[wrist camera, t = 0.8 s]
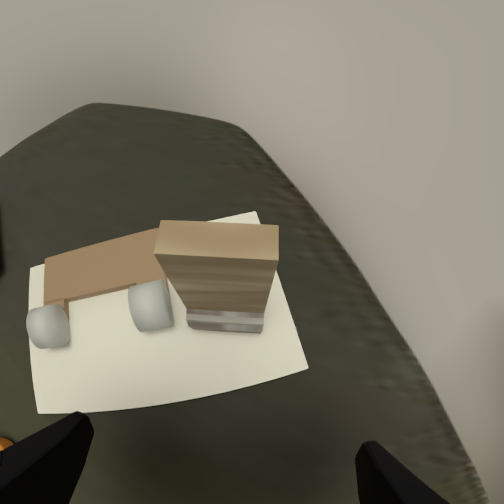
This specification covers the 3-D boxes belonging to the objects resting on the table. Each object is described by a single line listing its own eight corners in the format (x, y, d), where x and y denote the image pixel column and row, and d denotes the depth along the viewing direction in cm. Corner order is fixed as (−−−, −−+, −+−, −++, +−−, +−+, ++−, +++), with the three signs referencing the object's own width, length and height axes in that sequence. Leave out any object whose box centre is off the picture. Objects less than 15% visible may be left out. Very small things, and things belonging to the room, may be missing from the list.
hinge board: (305, 369, 21) (320, 363, 17) (44, 413, 17) (13, 412, 13) (255, 217, 27) (257, 186, 23) (35, 272, 23) (11, 252, 19)
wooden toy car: (260, 336, 21) (278, 281, 11) (192, 331, 21) (149, 274, 11) (262, 292, 22) (278, 207, 12) (197, 289, 22) (165, 203, 12)
